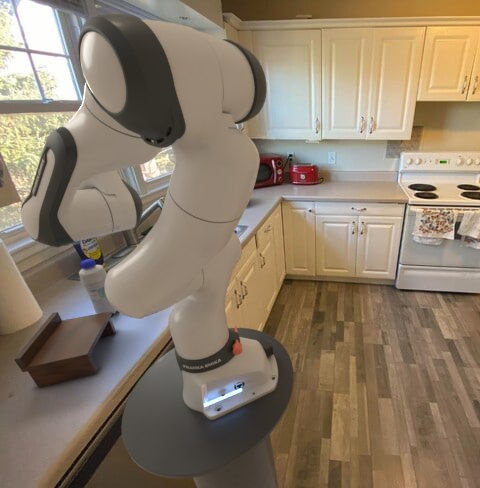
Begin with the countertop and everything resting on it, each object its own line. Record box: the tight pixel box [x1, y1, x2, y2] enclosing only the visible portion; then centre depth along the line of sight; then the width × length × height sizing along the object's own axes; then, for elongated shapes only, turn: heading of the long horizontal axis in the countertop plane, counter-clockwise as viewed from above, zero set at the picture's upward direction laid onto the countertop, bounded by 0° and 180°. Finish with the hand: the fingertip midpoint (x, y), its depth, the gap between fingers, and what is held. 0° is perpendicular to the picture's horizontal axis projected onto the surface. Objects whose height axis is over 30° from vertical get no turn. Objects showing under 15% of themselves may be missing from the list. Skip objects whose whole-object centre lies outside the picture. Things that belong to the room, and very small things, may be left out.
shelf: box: [13, 311, 117, 388], centre depth 74 cm, size 13×17×10 cm
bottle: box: [78, 258, 118, 315], centre depth 89 cm, size 7×7×20 cm
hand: (86, 237), depth 74 cm, fingers open, 8 cm apart
